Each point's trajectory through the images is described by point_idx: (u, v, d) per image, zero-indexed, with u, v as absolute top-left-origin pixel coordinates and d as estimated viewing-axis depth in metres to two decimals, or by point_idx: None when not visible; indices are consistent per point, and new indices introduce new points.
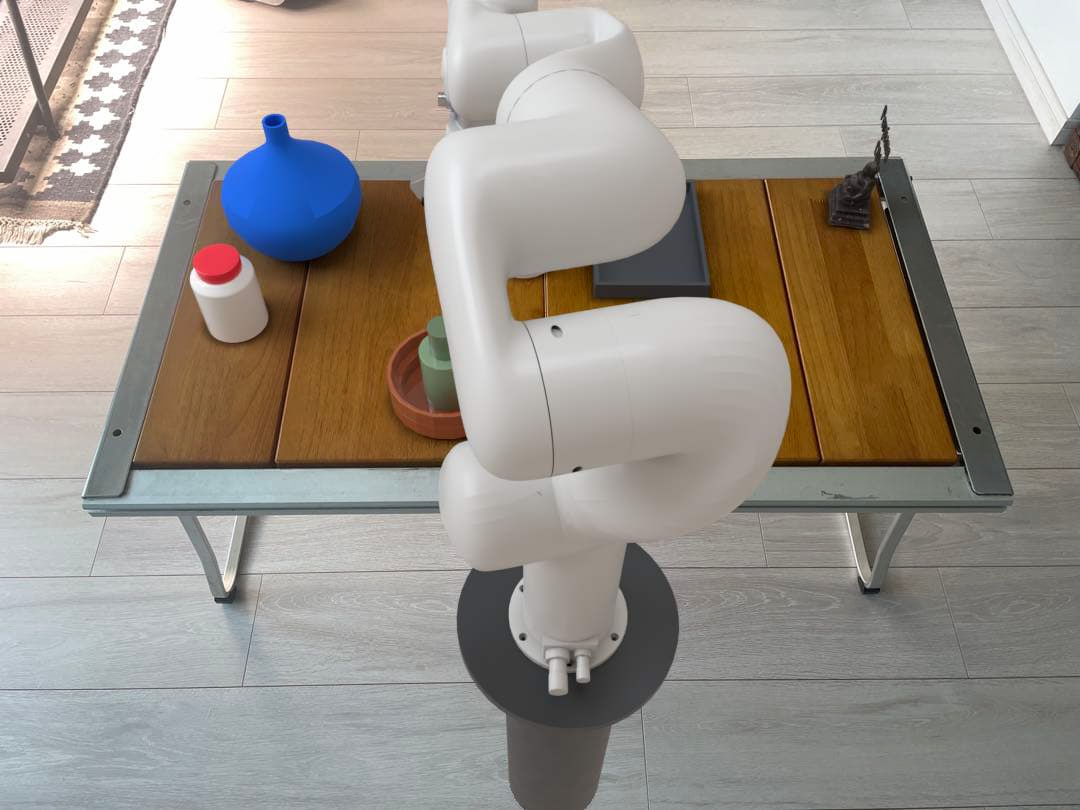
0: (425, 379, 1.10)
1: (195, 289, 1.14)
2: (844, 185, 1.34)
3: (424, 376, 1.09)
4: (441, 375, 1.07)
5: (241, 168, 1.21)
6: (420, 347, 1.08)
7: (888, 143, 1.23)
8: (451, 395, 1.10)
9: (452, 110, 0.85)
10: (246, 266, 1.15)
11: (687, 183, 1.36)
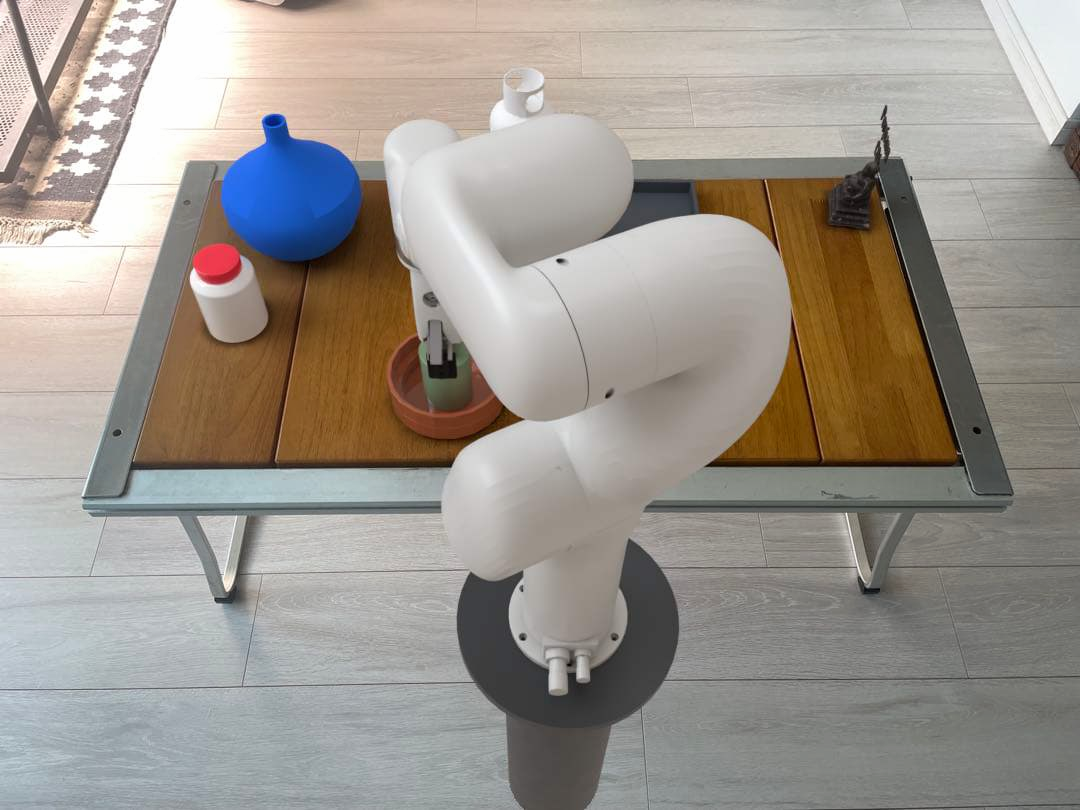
0: (425, 379, 1.10)
1: (195, 289, 1.14)
2: (844, 185, 1.34)
3: (424, 376, 1.09)
4: None
5: (241, 168, 1.21)
6: (420, 347, 1.08)
7: (888, 143, 1.23)
8: (451, 395, 1.10)
9: None
10: (246, 266, 1.15)
11: (687, 183, 1.36)
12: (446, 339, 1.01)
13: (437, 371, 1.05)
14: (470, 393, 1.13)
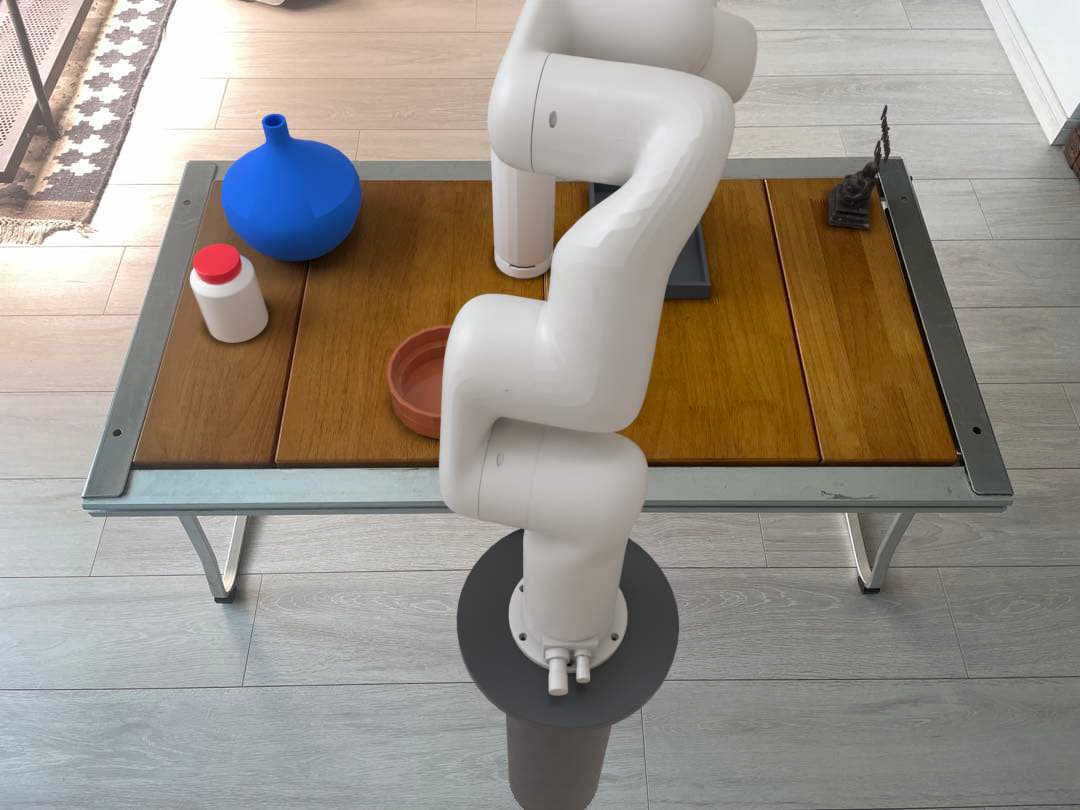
0: None
1: (195, 289, 1.14)
2: (844, 185, 1.34)
3: None
4: None
5: (241, 168, 1.21)
6: None
7: (888, 143, 1.23)
8: None
9: None
10: (246, 266, 1.15)
11: None
12: None
13: None
14: None
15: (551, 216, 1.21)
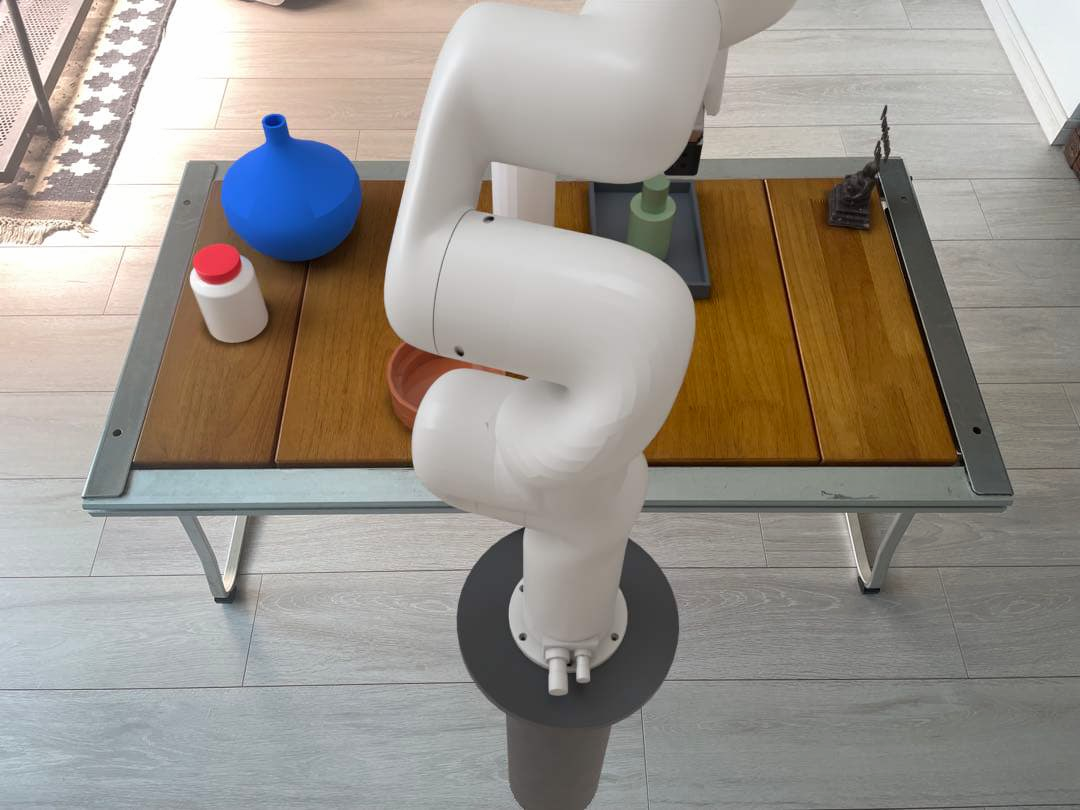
0: (633, 233, 1.25)
1: (195, 289, 1.14)
2: (844, 185, 1.34)
3: (633, 230, 1.25)
4: (652, 227, 1.23)
5: (241, 168, 1.21)
6: (631, 203, 1.24)
7: (888, 143, 1.23)
8: (655, 248, 1.26)
9: None
10: (246, 266, 1.15)
11: (687, 183, 1.36)
12: None
13: (679, 162, 0.87)
14: (668, 249, 1.28)
15: (551, 216, 1.21)
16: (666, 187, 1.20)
